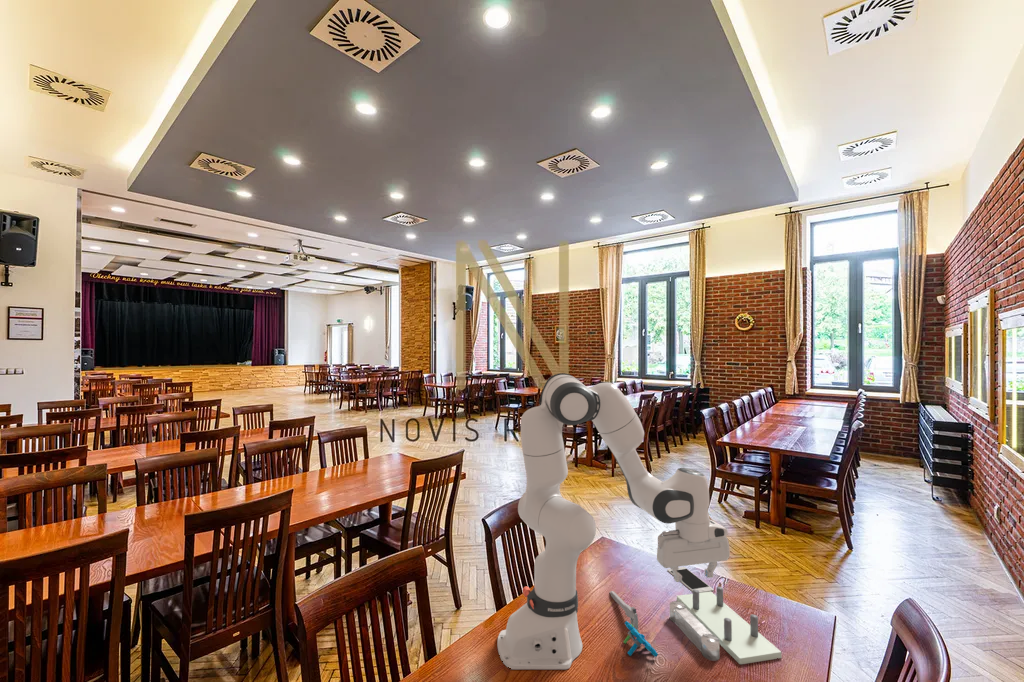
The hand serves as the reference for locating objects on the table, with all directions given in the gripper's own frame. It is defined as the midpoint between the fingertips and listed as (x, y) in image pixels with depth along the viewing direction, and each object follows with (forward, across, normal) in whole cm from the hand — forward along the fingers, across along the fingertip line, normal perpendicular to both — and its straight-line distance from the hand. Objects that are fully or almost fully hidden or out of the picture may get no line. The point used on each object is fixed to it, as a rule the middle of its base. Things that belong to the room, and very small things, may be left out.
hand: (693, 578), depth 119 cm
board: (+16, +10, +2) cm, 19 cm away
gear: (+15, -18, -3) cm, 24 cm away
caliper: (+16, -15, +14) cm, 26 cm away
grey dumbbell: (+15, -1, 0) cm, 16 cm away
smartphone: (+17, +15, +26) cm, 34 cm away
